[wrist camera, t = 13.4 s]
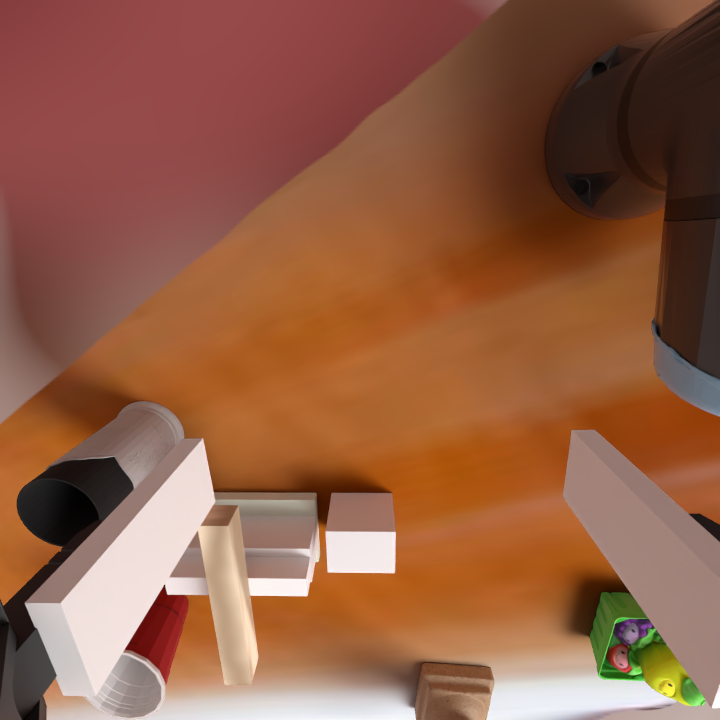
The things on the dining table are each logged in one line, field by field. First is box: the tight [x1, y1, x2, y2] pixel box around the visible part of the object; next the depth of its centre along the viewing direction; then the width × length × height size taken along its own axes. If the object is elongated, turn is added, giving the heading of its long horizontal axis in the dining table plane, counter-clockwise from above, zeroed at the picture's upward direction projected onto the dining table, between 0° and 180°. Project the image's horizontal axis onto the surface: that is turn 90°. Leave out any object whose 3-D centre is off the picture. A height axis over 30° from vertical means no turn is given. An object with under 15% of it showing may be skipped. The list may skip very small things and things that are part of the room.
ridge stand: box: [165, 492, 320, 596], centre depth 48 cm, size 16×10×10 cm, turn 91°
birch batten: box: [198, 505, 258, 685], centre depth 42 cm, size 3×22×3 cm, turn 1°
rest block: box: [326, 493, 396, 573], centre depth 48 cm, size 8×6×7 cm
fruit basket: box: [590, 592, 705, 706], centre depth 51 cm, size 11×9×11 cm
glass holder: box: [17, 401, 184, 547], centre depth 42 cm, size 9×14×15 cm, turn 19°
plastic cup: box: [84, 587, 188, 720], centre depth 52 cm, size 11×11×12 cm
